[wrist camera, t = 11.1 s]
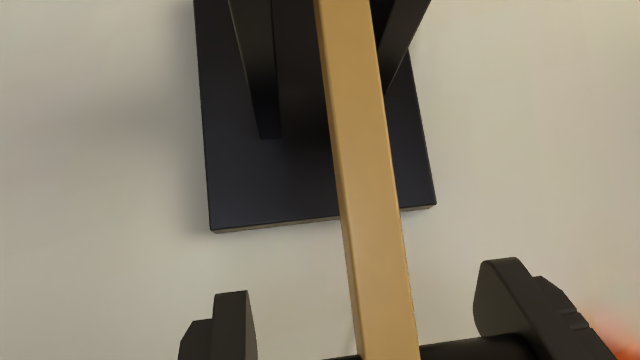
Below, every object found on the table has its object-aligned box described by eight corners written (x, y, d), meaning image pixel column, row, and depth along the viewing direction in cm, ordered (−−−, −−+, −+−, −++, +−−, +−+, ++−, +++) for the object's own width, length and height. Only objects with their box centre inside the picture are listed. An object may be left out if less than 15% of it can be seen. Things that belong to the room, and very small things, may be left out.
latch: (503, 393, 10) (567, 437, 8) (261, 430, 10) (252, 489, 7) (418, -125, 12) (449, -216, 10) (208, -114, 12) (188, -206, 9)
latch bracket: (429, 208, 21) (663, 78, 8) (214, 233, 20) (62, 137, 7) (389, -16, 24) (512, -402, 10) (196, -1, 23) (61, -401, 10)
